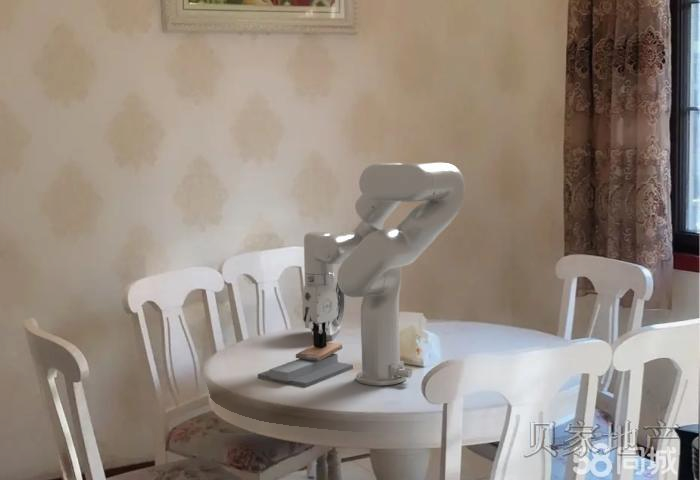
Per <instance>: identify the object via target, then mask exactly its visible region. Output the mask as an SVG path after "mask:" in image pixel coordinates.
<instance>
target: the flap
mask: <svg viewBox="0 0 700 480" xmlns="http://www.w3.org/2000/svg"><path fill="white" fill-rule="evenodd" d="M342 349H343V344H342V343H337V342H331V341H330V342H329V341H327V346H326V347H324V348H319V347H314V345H312V346H311V345H310V346H309V347H307V348H305V349H303V350H301V351H299V352H298V353H296V354H295V359H305V360H311V361H320V360H322V359H324V358H326V357H327V356H329V355H331V354H336V353H337V352H339V351H340V350H342Z"/></svg>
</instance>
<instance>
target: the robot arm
mask: <svg viewBox="0 0 700 480" xmlns="http://www.w3.org/2000/svg"><path fill="white" fill-rule="evenodd" d="M358 181H359V182H358V185H359V191H360V192H361V195H360V196H359V198H358V199H357V200H356V201H355V206H354V208H355V209H354V210H355V212H356V213H357V215H358V217H359V218H360V220H361V221H360V222H359V224H358V225H357V226H356V227H355V228H354V229H353V230H352V231H347V232H341V233H336V234H331V233H329V232H327V231H310V232H308V233H306V234H305V235H304V238H303V256H304V258H303V259H304V260H303V261H304V262H303V263H304V265H303V266H304V287H303V294H302V309H301V310H302V312H301V313H302V320H303V322H304V323H305V326H304V328H305V329H310V331H311V333H312V332H313V335H312V338H313V340H312V344H313V345H314V347H319V348H324V347H326V346H327V342H328V341H326V332H327V331H328V325H329V323H331V322H332V321H333V320H334V319H335V318H336V317H337V316H338V304H337V293H336V287H335V283H334V282H333V273H334V265H338V264H340V266H339V269H338V271H337V274H336V275H337V282H338V286H339V288H340V290H341V291H342V292H343V293H344V294H345V296H347V297H350V298H355V299H356V298H357V299H358V298H362V300H361V305H360V337H361V339H360V341H361V368H362V369H361V370H360V371H359V372H357V373H356V376H355V377H356V378H355V379H356V381H357V382H358V383H361V384H363V385H369V386H390V385H391V386H392V385H398V384H400V383H402V382H404V381H406V380H407V379H410V378H412V375H413V371H414V370H413V368H412V367H405V360H401V349H400V348H401V347H400V292H401V285H402V279H403V271H402V270H403V269H402V267H404V266H405V267H406V266H408V265H411V264H413V263H414V262H415V261H416V260H417V259H418V258H419V257H420V256H421V255H422V253H423V252H425V251H426V250H427V249H428V247H429V246H430V245H431V244H432V243H433V242H434V241H435V240H436V238H437V237H438V236H439V235H440V234H441V232H443V231H444V230H445V229H446V228H447V227H448V226H449V225H450V224H451V222H452V221H454V219H455V217H457V215H458V213H459V212H460V210H461V209H462V206H463V204H464V200H465V194H466V183H465V179H464V175H463V173H462V171H460V169H459V168H457V167H456V166H455V165H453V164H451V163H449V162H448V163H447V162H442V161H441V162H440V161H437V162H436V161H435V162H423V163H422V162H421V163H405V164H404V163H402V162H395V161H394V162H379V163H373V164H370V165H368V166H367V167H366V168H364V169H363V171H362V173H361V174H360V177H359V180H358ZM404 202H405V203H406V202H407V203H412V202H413V203H415V202H416V203H417V202H421V203H419V204H418V205H417V206H416V207H414V208H413V209H412V210H411V211H410V212H409V213H408V214H407V216H406V217H404V218H403V220H402V221H401V222H400V223H399V224H397V225H395V226H392V227H388V228H387V227H386V228H384V227H385V221H386V220H387V219H388V217H390V216H391V215H392V213H393V212H394V211H395V209H397V207H398V206H399V205H400V204H401V203H404ZM313 345H312V346H313Z"/></svg>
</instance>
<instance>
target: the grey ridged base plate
mask: <svg viewBox="0 0 700 480" xmlns="http://www.w3.org/2000/svg"><path fill="white" fill-rule="evenodd" d="M338 358H339V356H338V353H333V354H331V355H329V356H327V357H326V358H324V359H322V360H320V361H311V360H305V359H299V358H296V359H295V360H292V361H289V362H286V363H283V364H282V365H279V366H278V365H277V366H275V367H273V368H270V369H269V370H265V371H263V372H260V373H258V374H257V379H262V380H266V381H272V382H277V383H281V382H282V384H287V383H288V385H292V384H293V386H297V387H298V386H299V387H304V388H308V387H311V386H314V385H315V384H319V383H321V382H323V381H326V380H328V379H330V378H333V377H336V376H338V375H340V374H342V373H345V372H347V371H350V370H353V369H354V365H353V364H351V363H345V362H339V361H338Z"/></svg>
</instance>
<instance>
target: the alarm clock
mask: <svg viewBox="0 0 700 480" xmlns="http://www.w3.org/2000/svg"><path fill="white" fill-rule="evenodd" d="M337 275H338V274H335V273H334V272H333V282H334V283H335V287H336V293H337V304H338V316H337V317H336V318H335V319H334V320H333V321H332V322H331V323H329V325H328V331H327V332H326V341H327V342H329V341H330V342H332V341H334V340H335V339H336V337H337V336H338V335H339V334H340V328H341V326H342V325H343V324H342V323H343V321H344V315H345V305H346V295H345V294H344V293H343V292H342V291H341V290H340V288H339V286H338V282H337ZM311 335H312V336H313V332H312V331H311Z"/></svg>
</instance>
